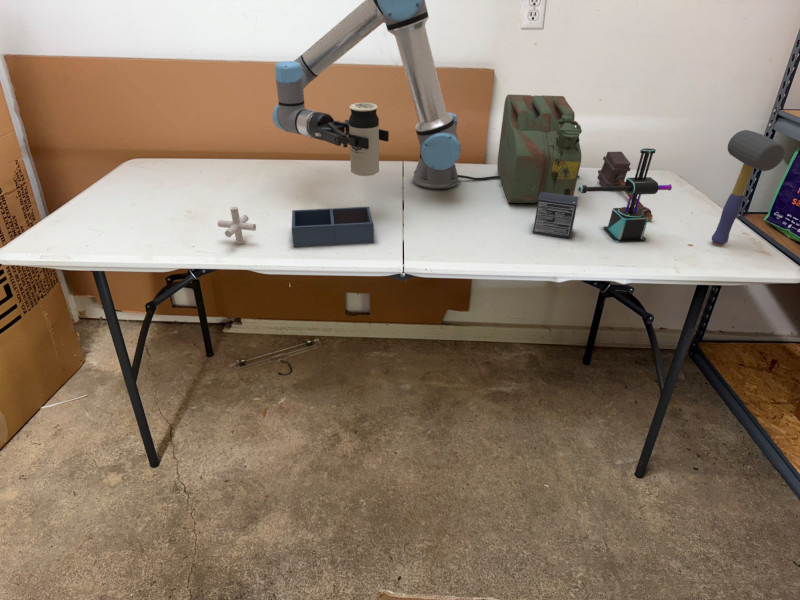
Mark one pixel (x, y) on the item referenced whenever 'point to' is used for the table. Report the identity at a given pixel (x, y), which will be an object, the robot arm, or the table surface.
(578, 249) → the table surface
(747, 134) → the rubber mallet
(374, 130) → the travel mug
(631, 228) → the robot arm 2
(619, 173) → the hammer
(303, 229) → the divided storage bin
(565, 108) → the fuel can
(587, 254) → the table surface
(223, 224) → the pipe connector
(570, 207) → the small box
